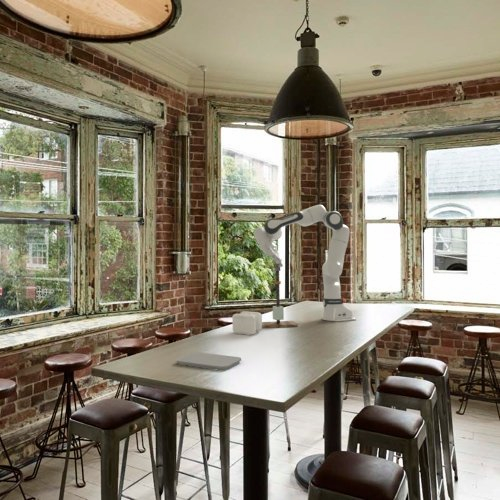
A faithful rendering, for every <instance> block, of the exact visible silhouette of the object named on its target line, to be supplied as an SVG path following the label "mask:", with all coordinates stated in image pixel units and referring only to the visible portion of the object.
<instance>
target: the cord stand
mask: <svg viewBox="0 0 500 500" xmlns="http://www.w3.org/2000/svg"><path fill="white" fill-rule="evenodd" d="M274 271H275V280H274V285H275V287H276V288H275V289H276V291H275V294H276V295H275V299H276V300H275V303H276V304H275V306H276V307H280V306H281V304H280V303H281V302H280V296H281V295H280V293H281V292H280V284H282V282H281V280H280V272H281V267H280V264H277V263H274ZM298 327H299V324H298V323H297V322H296V321H294V320H274V321H262V329H277V328H278V329H279V328H282V329H283V328H298Z"/></svg>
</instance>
